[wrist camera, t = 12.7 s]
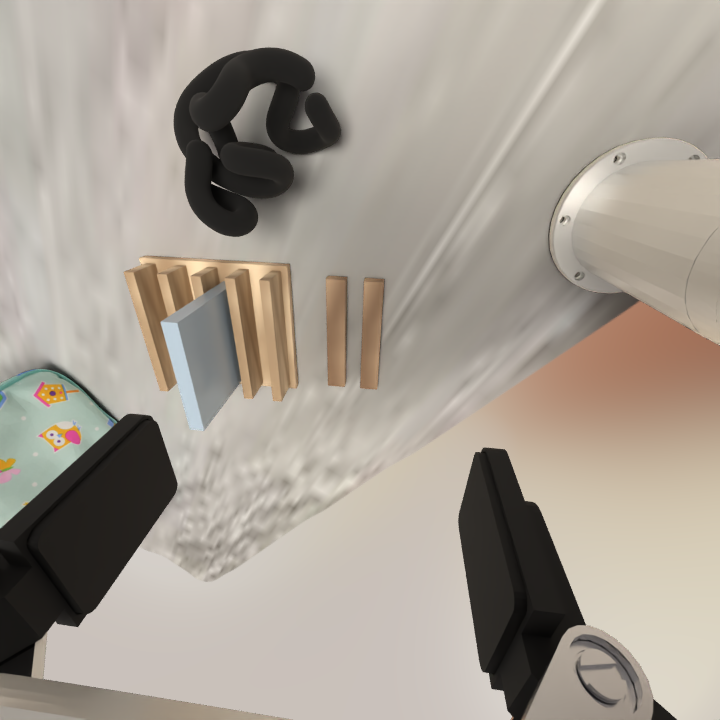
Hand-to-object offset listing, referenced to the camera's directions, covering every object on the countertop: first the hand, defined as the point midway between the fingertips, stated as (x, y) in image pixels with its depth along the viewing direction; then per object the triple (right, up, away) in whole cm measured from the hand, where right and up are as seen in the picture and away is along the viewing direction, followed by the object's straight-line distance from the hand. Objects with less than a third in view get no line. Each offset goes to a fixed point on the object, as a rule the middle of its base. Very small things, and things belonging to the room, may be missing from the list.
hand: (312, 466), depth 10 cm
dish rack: (-14, +7, +30) cm, 34 cm away
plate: (-13, +7, +29) cm, 33 cm away
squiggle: (-7, +23, +21) cm, 32 cm away
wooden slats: (+1, +6, +29) cm, 30 cm away
